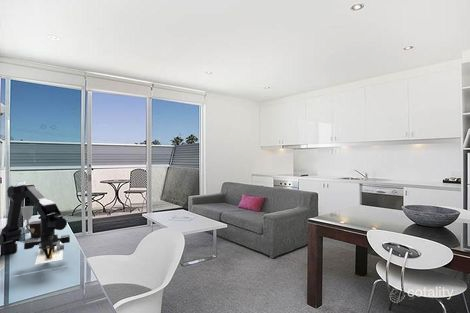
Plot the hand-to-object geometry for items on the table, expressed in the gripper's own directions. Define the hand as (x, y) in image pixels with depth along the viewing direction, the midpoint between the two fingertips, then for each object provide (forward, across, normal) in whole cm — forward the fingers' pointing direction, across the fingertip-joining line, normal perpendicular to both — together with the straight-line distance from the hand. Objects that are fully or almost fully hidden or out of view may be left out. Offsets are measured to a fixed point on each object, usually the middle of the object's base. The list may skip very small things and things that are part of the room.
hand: (48, 258), depth 134 cm
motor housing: (+2, 0, +19) cm, 19 cm away
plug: (+2, 0, +12) cm, 13 cm away
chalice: (+2, -15, +73) cm, 75 cm away
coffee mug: (+2, -9, +57) cm, 58 cm away
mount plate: (+2, 0, +18) cm, 18 cm away
